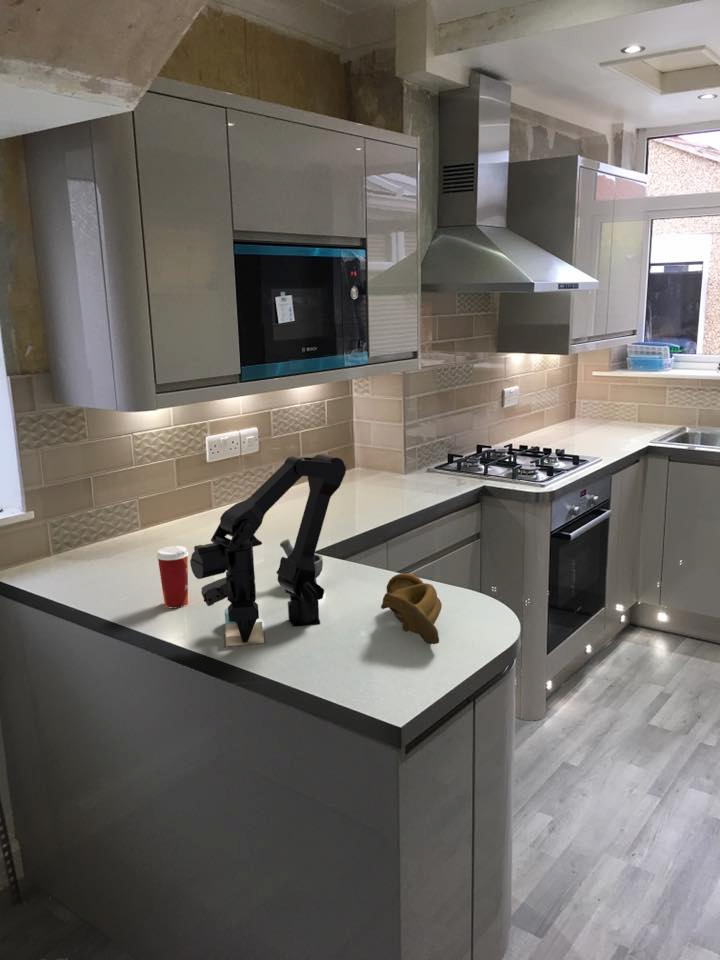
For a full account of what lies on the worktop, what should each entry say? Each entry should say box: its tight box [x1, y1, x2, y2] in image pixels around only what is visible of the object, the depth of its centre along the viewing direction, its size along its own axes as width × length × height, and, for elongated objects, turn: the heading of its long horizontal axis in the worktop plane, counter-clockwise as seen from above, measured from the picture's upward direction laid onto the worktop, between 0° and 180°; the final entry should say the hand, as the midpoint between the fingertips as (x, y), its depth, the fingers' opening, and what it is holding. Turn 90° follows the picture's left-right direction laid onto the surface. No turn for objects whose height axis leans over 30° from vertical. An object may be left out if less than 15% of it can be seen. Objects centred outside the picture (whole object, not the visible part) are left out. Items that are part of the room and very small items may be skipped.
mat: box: [223, 630, 267, 649], centre depth 171 cm, size 9×7×1 cm
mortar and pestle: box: [279, 538, 324, 584], centre depth 204 cm, size 11×9×12 cm
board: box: [225, 621, 264, 646], centre depth 171 cm, size 8×6×2 cm
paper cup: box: [156, 545, 190, 608], centre depth 192 cm, size 8×8×14 cm
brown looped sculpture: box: [380, 572, 442, 645], centre depth 174 cm, size 18×13×22 cm
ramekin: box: [224, 607, 237, 626], centre depth 179 cm, size 6×6×4 cm
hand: (244, 635), depth 171 cm, fingers closed on board, 6 cm apart
